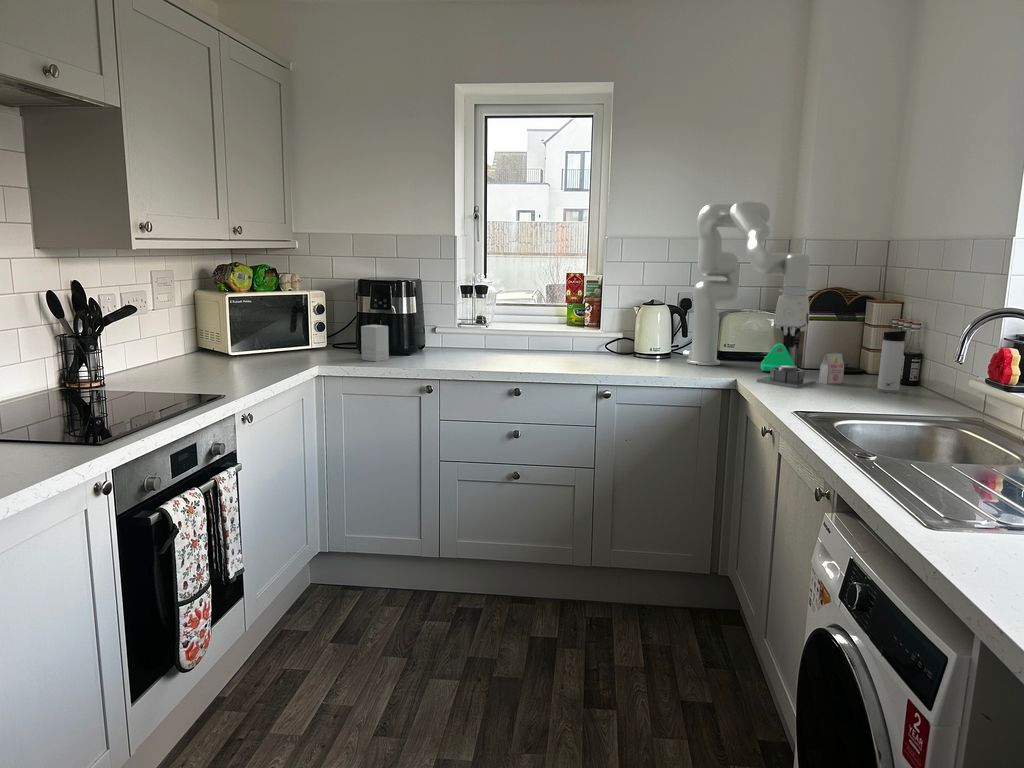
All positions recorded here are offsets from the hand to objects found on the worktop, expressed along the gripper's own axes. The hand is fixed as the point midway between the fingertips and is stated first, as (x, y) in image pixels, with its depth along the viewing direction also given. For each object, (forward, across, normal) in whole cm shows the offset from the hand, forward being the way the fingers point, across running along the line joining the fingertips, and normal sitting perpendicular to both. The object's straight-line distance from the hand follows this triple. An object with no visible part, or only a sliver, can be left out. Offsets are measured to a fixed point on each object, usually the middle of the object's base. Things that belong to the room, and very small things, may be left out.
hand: (789, 347), depth 256 cm
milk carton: (+12, +10, +12) cm, 20 cm away
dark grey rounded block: (+11, 0, 0) cm, 11 cm away
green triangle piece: (+12, -12, +18) cm, 25 cm away
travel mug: (+12, +29, +11) cm, 33 cm away
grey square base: (+12, 0, 0) cm, 12 cm away
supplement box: (+12, -121, -81) cm, 146 cm away
